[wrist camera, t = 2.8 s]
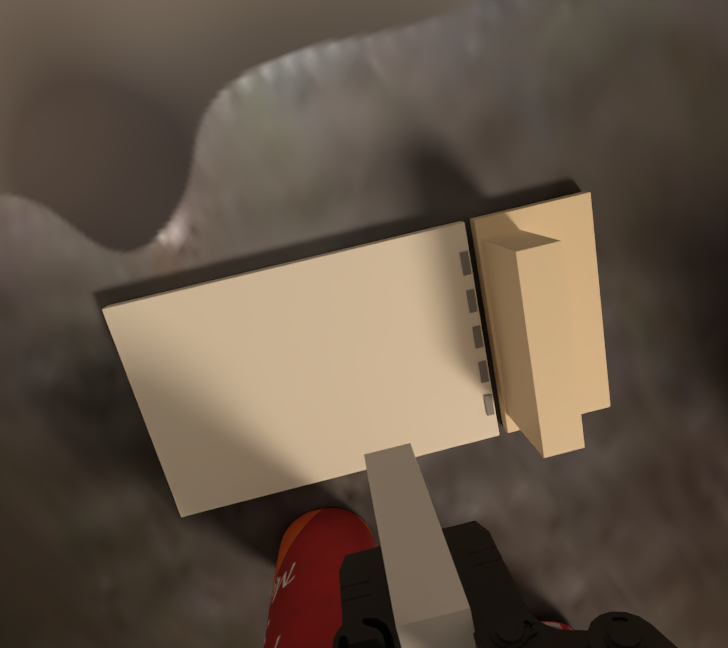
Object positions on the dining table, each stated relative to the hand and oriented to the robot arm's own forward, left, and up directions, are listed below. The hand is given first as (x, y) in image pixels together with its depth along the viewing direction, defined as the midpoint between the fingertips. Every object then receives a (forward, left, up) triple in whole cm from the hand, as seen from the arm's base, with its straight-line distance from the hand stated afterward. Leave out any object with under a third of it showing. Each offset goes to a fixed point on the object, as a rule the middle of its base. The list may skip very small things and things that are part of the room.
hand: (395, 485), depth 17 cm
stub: (+10, 0, -12) cm, 16 cm away
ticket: (-2, 0, -12) cm, 12 cm away
